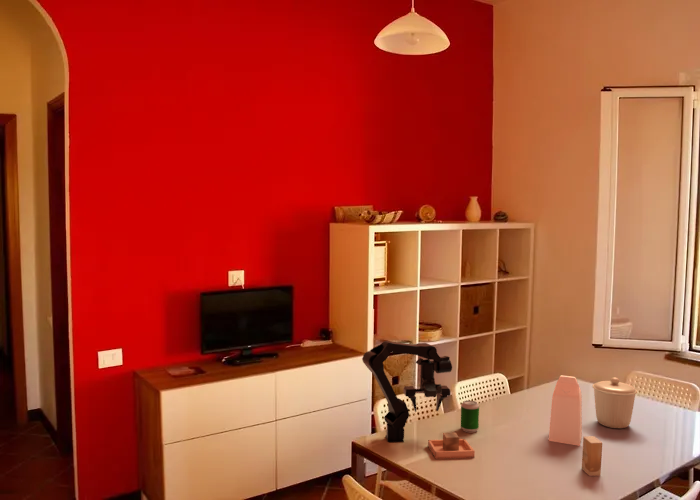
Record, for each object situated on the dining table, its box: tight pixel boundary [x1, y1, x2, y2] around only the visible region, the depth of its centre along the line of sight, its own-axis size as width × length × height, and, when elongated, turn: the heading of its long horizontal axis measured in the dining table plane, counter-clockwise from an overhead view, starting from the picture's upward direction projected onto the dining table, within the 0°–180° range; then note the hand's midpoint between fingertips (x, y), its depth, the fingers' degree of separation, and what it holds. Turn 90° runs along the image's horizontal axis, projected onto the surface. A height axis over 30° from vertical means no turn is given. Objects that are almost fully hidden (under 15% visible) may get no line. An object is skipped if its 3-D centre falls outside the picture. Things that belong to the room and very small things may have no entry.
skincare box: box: [581, 435, 603, 477], centre depth 213 cm, size 6×4×12 cm
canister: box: [591, 376, 638, 429], centre depth 263 cm, size 18×18×21 cm
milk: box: [548, 375, 583, 447], centre depth 245 cm, size 12×12×26 cm
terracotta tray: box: [427, 438, 476, 460], centre depth 231 cm, size 15×12×2 cm
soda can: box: [460, 399, 480, 434], centre depth 254 cm, size 8×8×12 cm
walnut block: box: [442, 432, 460, 451], centre depth 230 cm, size 5×5×6 cm
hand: (426, 411), depth 247 cm, fingers open, 9 cm apart
